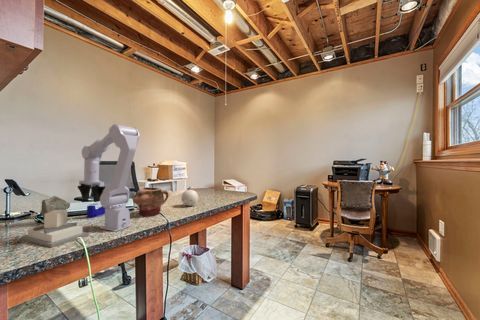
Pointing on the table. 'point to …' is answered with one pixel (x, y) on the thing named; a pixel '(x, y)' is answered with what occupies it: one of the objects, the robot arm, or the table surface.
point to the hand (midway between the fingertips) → (91, 200)
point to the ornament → (189, 197)
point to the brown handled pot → (150, 201)
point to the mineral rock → (53, 205)
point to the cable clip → (94, 211)
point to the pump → (55, 218)
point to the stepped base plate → (54, 234)
